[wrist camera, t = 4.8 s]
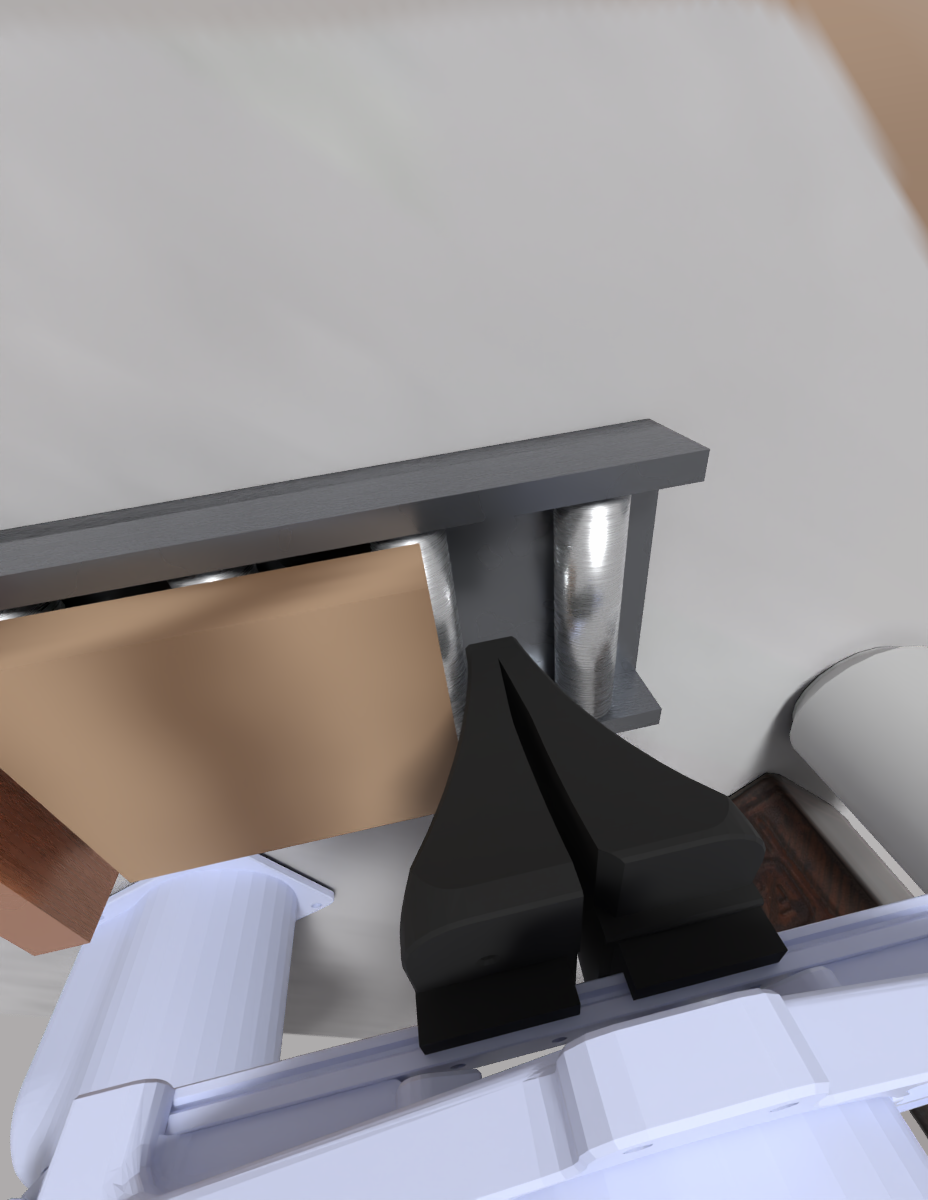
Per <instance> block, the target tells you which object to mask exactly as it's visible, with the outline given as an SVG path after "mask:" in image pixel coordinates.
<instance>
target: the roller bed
mask: <svg viewBox="0 0 928 1200" xmlns="http://www.w3.org/2000/svg"><path fill="white" fill-rule="evenodd" d="M709 451H710V449H709V448H707V447H705V446H703V445H701V444H699V443H697V442H695V441H693V440H691V439H689V438H687V437H685V436H683V435H681V434H679V433H677V432H675V431H673V430H671V429H669V428H667V427H665V426H663V425H661V424H659V423H657V422H655V421H653V420H651V419H644V420H638V421H632V422H626V423H621V424H615V425H609V426H603V427H597V428H592V429H586V430H580V431H574V432H568V433H563V434H557V435H551V436H545V437H540V438H534V439H528V440H522V441H516V442H511V443H505V444H499V445H493V446H487V447H482V448H476V449H470V450H464V451H458V452H453V453H447V454H441V455H435V456H429V457H424V458H418V459H412V460H406V461H400V462H395V463H389V464H383V465H377V466H371V467H366V468H360V469H354V470H348V471H342V472H337V473H331V474H325V475H319V476H313V477H308V478H302V479H296V480H290V481H284V482H279V483H273V484H267V485H261V486H255V487H250V488H244V489H238V490H232V491H226V492H221V493H215V494H209V495H203V496H198V497H192V498H186V499H180V500H174V501H169V502H163V503H157V504H151V505H145V506H140V507H134V508H128V509H122V510H116V511H111V512H105V513H99V514H93V515H87V516H82V517H76V518H70V519H64V520H58V521H53V522H47V523H41V524H35V525H29V526H24V527H18V528H12V529H6V530H0V621H1V620H7V619H12V618H17V617H23V616H28V615H34V614H39V613H44V612H50V611H55V610H61V609H66V608H71V607H77V606H82V605H88V604H93V603H98V602H104V601H109V600H115V599H120V598H125V597H131V596H136V595H142V594H147V593H152V592H158V591H163V590H169V589H174V588H179V587H185V586H190V585H196V584H201V583H206V582H212V581H217V580H223V579H228V578H233V577H239V576H244V575H250V574H255V573H260V572H266V571H271V570H277V569H282V568H287V567H293V566H298V565H303V564H309V563H314V562H320V561H325V560H330V559H336V558H341V557H347V556H352V555H357V554H363V553H368V552H374V551H379V550H384V549H390V548H395V547H401V546H406V545H411V544H417V543H420V548H421V553H422V558H423V563H424V569H425V574H426V579H427V584H428V589H429V594H430V599H431V604H432V609H433V615H434V620H435V625H436V630H437V635H438V640H439V645H440V651H441V656H442V661H443V666H444V671H445V676H446V681H447V687H448V692H449V697H450V702H451V707H452V712H453V717H454V723H455V728H456V733H457V738H458V741H459V736H460V732H461V726H462V721H463V715H464V709H465V702H466V692H467V682H468V663H467V657H466V651H465V648H466V647H467V646H468V645H469V644H474V643H479V642H484V641H489V640H494V639H499V638H504V637H509V636H513V637H514V638H516V639H517V641H518V642H519V643H520V645H521V646H522V647H523V649H524V650H525V651H526V652H527V653H528V655H529V656H530V657H531V658H532V659H533V660H534V661H535V663H536V664H537V665H538V666H539V667H540V668H541V669H542V670H543V671H544V672H545V673H546V674H547V675H548V676H549V677H550V678H551V679H552V680H553V681H554V682H555V683H556V684H557V685H558V686H559V687H560V688H561V689H562V690H563V691H564V692H565V693H566V694H567V695H568V696H569V697H570V698H572V699H573V700H574V701H575V702H576V703H577V704H578V705H580V706H581V707H582V708H583V709H584V710H585V711H587V712H588V713H589V714H590V715H592V716H593V717H594V718H595V719H597V720H598V721H599V722H601V723H602V724H603V725H604V726H606V727H607V728H608V729H610V730H611V731H613V732H614V733H619V732H624V731H628V730H633V729H637V728H642V727H646V726H651V725H655V724H659V720H660V715H661V710H662V709H661V707H660V706H659V704H658V703H657V701H656V700H655V698H654V697H653V695H652V694H651V692H650V691H649V690H648V688H647V687H646V685H645V684H644V682H643V681H642V679H641V678H640V676H639V675H638V673H637V672H636V671H635V669H636V661H637V654H638V646H639V638H640V630H641V623H642V615H643V607H644V599H645V592H646V584H647V576H648V568H649V561H650V553H651V545H652V537H653V530H654V522H655V514H656V506H657V499H658V491H659V489H664V488H669V487H674V486H680V485H685V484H691V483H696V482H702V481H704V478H705V473H706V467H707V462H708V457H709ZM118 874H119V872H118V871H117V870H115V869H114V868H113V867H112V866H111V865H110V864H109V863H108V862H106V861H105V860H104V859H103V858H102V857H101V856H100V855H98V854H97V853H96V852H95V851H94V850H93V849H92V848H90V847H89V846H88V845H87V844H86V843H85V842H84V841H83V840H81V839H80V838H79V837H78V836H77V835H76V834H75V833H73V832H72V831H71V830H70V829H69V828H68V827H67V826H65V825H64V824H63V823H62V822H61V821H60V820H59V819H58V818H56V817H55V816H54V815H53V814H52V813H51V812H50V811H48V810H47V809H46V808H45V807H44V806H43V805H42V804H41V803H39V802H38V801H37V800H36V799H35V798H34V797H33V796H31V795H30V794H29V793H28V792H27V791H26V790H25V789H23V788H22V787H21V786H20V785H19V784H18V783H17V782H16V781H14V780H13V779H12V778H11V777H10V776H9V775H8V774H6V773H5V772H4V771H3V770H2V769H1V768H0V936H1V937H3V938H4V939H6V940H8V941H10V942H11V943H13V944H15V945H17V946H18V947H20V948H22V949H23V950H25V951H27V952H29V953H30V954H32V955H34V956H36V955H40V954H45V953H49V952H53V951H57V950H62V949H66V948H70V947H75V946H79V945H83V944H87V943H90V941H91V939H92V937H93V934H94V932H95V929H96V927H97V925H98V922H99V920H100V917H101V915H102V913H103V910H104V908H105V905H106V903H107V901H108V898H109V896H110V893H111V891H112V889H113V886H114V884H115V881H116V879H117V877H118Z"/></svg>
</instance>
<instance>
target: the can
mask: <svg viewBox="0 0 928 1200" xmlns="http://www.w3.org/2000/svg"><path fill="white" fill-rule="evenodd" d="M792 717H793V724H792V727H791V731H790V739H791V743H792V747H793V748H794V749H795V750H796V751H797V752H798V754H799V755H800V756H801V757H802V758H803V759H804V760H805V761H806V762H807V764H808V765H809V766H810V767H811V768H812V769H813V770H814V771H815V772H816V773H817V775H818V776H819V777H820V778H821V779H822V780H823V781H824V782H825V783H826V785H827V786H828V787H829V788H830V789H831V790H832V791H833V792H834V793H835V794H836V796H837V797H838V798H839V799H840V800H841V801H842V802H843V803H844V804H845V806H846V807H847V808H848V809H849V810H850V811H851V812H852V813H853V814H854V815H855V816H856V818H857V819H858V820H859V821H860V822H861V823H862V824H863V825H864V826H865V827H866V829H867V830H868V831H869V832H870V833H871V834H872V835H873V836H874V838H875V839H876V840H877V841H878V842H879V843H880V844H881V845H882V846H883V847H884V848H885V849H886V851H887V852H888V853H889V854H890V855H891V856H892V857H893V858H894V859H895V861H896V862H897V863H898V864H899V865H900V866H901V867H902V868H903V870H904V871H905V872H906V873H907V874H908V875H909V876H910V877H911V878H912V880H913V881H914V882H915V883H916V884H917V885H918V886H919V887H920V888H921V889H922V891H923V892H924V893H925V894H928V647H926V646H906V647H879V648H874V649H870V650H867V651H863V652H860V653H857V654H855V655H853V656H851V657H849V658H846V659H844V660H842V661H840V662H838V663H837V664H835V665H834V666H832V667H831V668H829V669H828V670H827V671H825V672H824V673H822V674H821V675H819V676H818V677H817V678H816V679H815V680H814V681H813V682H812V683H811V684H810V685H809V686H808V687H807V688H806V689H805V690H804V692H803V693H802V695H801V696H800V698H799V699H798V701H797V702H796V704H795V707H794V711H793V714H792Z"/></svg>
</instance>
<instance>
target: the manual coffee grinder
mask: <svg viewBox="0 0 928 1200" xmlns="http://www.w3.org/2000/svg"><path fill="white" fill-rule="evenodd" d="M729 798H730V799H731V801H732V802H733V803H734V804H735V805H736V806H737V807H738V809H739V810H740V811H741V812H742V813H743V814H744V816H745V817H746V818H747V819H748V820H749V822H750V823H751V824H752V825H753V827H754V828H755V830H756V831H757V833H758V834H759V835H760V837H761V838H762V840H763V841H764V844H765V847H766V851H765V855H764V859H763V862H762V864H761V866H760V868H759V870H758V872H757V874H756V876H755V878H754V880H753V881H752V882H753V883H754V885H755V886H756V888H757V889H758V891H759V893H760V894H761V896H762V897H763V900H764V904H763V906H761V908H762V909H763V911H764V912H765V914H766V916H767V917H768V919H769V920H770V922H771V924H772V925H773V927H774V928H775V930H776V932H781V931H785V930H789V929H793V928H797V927H801V926H805V925H808V924H812V923H816V922H820V921H824V920H828V919H832V918H836V917H840V916H843V915H847V914H851V913H855V912H859V911H863V910H867V909H871V908H874V907H878V906H882V905H886V904H890V903H894V902H898V901H902V900H905V899H909V898H913V897H914V896H913V895H912V894H911V892H910V891H909V890H908V889H907V888H906V887H905V886H904V884H903V883H902V882H901V881H900V880H899V879H898V878H897V876H896V875H895V874H894V873H893V872H892V871H891V870H890V869H889V867H888V866H887V865H886V864H885V863H884V862H883V860H882V859H881V858H880V857H879V856H878V855H877V854H876V853H875V851H874V850H873V849H872V848H871V847H870V846H869V845H868V843H867V842H866V841H865V840H864V839H863V838H862V837H861V836H860V835H859V833H858V832H857V831H856V830H855V829H854V828H853V827H852V825H851V824H850V822H849V821H848V820H847V819H846V818H845V817H844V816H843V815H842V814H841V813H840V812H839V811H838V810H836V809H835V808H834V807H833V806H832V805H830V804H829V803H827V802H825V801H824V800H822V799H820V798H819V797H817V796H815V795H814V794H812V793H810V792H809V791H807V790H805V789H804V788H802V787H800V786H799V785H797V784H795V783H794V782H792V781H790V780H788V779H786V778H785V777H783V776H781V775H779V774H770V773H765V774H764V775H762V776H761V777H759V778H758V779H756V780H755V781H753V782H751V783H750V784H748V785H747V786H745V787H744V788H742V789H741V790H739V791H738V792H736V793H734V794H733V795H731V796H730V797H729ZM909 1111H910V1113H911V1114H912V1116H913V1117H914V1118H915V1120H916V1121H917V1123H918V1124H919V1125H920V1127H921V1129H922V1130H923V1132H924V1133H925V1135H926V1136H927V1138H928V1104H927V1105H924V1106H920V1107H917V1108H914V1109H911V1110H909Z"/></svg>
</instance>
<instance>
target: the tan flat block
mask: <svg viewBox="0 0 928 1200" xmlns="http://www.w3.org/2000/svg"><path fill="white" fill-rule="evenodd" d="M457 745H458V738H457V733H456V728H455V723H454V717H453V712H452V707H451V702H450V697H449V692H448V687H447V681H446V676H445V671H444V666H443V661H442V656H441V651H440V645H439V640H438V635H437V630H436V625H435V620H434V615H433V609H432V604H431V599H430V594H429V589H428V584H427V579H426V574H425V569H424V563H423V558H422V553H421V548H420V543H417V544H411V545H406V546H401V547H395V548H390V549H384V550H379V551H374V552H368V553H363V554H357V555H352V556H347V557H341V558H336V559H330V560H325V561H320V562H314V563H309V564H303V565H298V566H293V567H287V568H282V569H277V570H271V571H266V572H260V573H255V574H250V575H244V576H239V577H233V578H228V579H223V580H217V581H212V582H206V583H201V584H196V585H190V586H185V587H179V588H174V589H169V590H163V591H158V592H152V593H147V594H142V595H136V596H131V597H125V598H120V599H115V600H109V601H104V602H98V603H93V604H88V605H82V606H77V607H71V608H66V609H61V610H55V611H50V612H44V613H39V614H34V615H28V616H23V617H17V618H12V619H7V620H1V621H0V768H1V769H2V770H3V771H4V772H5V773H6V774H8V775H9V776H10V777H11V778H12V779H13V780H14V781H16V782H17V783H18V784H19V785H20V786H21V787H22V788H23V789H25V790H26V791H27V792H28V793H29V794H30V795H31V796H33V797H34V798H35V799H36V800H37V801H38V802H39V803H41V804H42V805H43V806H44V807H45V808H46V809H47V810H48V811H50V812H51V813H52V814H53V815H54V816H55V817H56V818H58V819H59V820H60V821H61V822H62V823H63V824H64V825H65V826H67V827H68V828H69V829H70V830H71V831H72V832H73V833H75V834H76V835H77V836H78V837H79V838H80V839H81V840H83V841H84V842H85V843H86V844H87V845H88V846H89V847H90V848H92V849H93V850H94V851H95V852H96V853H97V854H98V855H100V856H101V857H102V858H103V859H104V860H105V861H106V862H108V863H109V864H110V865H111V866H112V867H113V868H114V869H115V870H117V871H118V872H119V873H120V874H121V875H122V876H123V877H125V878H126V879H127V880H128V881H129V882H130V883H132V882H136V881H140V880H145V879H149V878H154V877H158V876H163V875H167V874H171V873H176V872H180V871H185V870H189V869H193V868H198V867H202V866H207V865H211V864H215V863H220V862H224V861H229V860H233V859H238V858H242V857H246V856H251V855H255V854H260V853H264V852H268V851H273V850H277V849H282V848H286V847H290V846H295V845H299V844H304V843H308V842H313V841H317V840H321V839H326V838H330V837H335V836H339V835H343V834H348V833H352V832H357V831H361V830H365V829H370V828H374V827H379V826H383V825H387V824H392V823H396V822H401V821H405V820H410V819H414V818H418V817H423V816H427V815H432V814H435V812H436V810H437V807H438V805H439V802H440V800H441V797H442V794H443V792H444V789H445V786H446V783H447V780H448V776H449V773H450V770H451V767H452V764H453V760H454V756H455V753H456V749H457Z"/></svg>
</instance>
